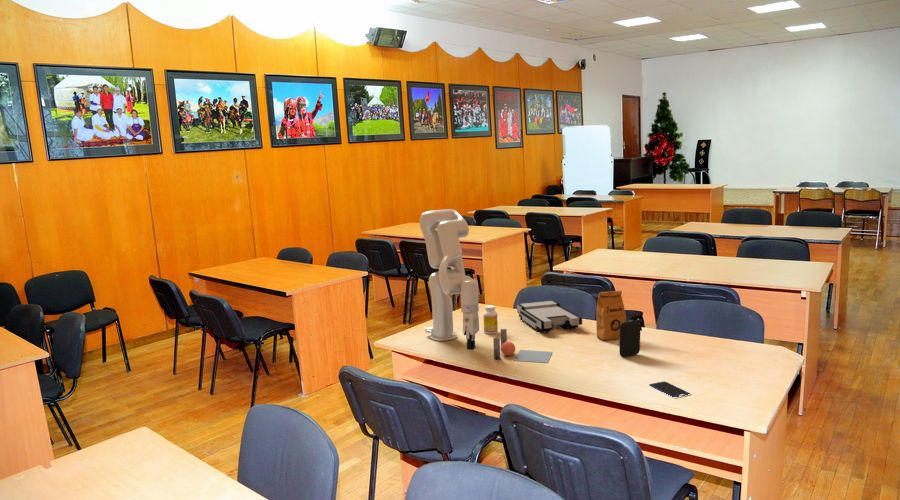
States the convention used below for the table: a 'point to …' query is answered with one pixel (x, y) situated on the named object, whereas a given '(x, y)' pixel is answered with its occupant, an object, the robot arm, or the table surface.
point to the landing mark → (533, 356)
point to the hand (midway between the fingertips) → (471, 349)
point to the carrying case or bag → (629, 338)
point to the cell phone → (669, 389)
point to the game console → (547, 316)
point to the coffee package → (609, 315)
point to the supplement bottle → (490, 320)
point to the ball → (508, 348)
